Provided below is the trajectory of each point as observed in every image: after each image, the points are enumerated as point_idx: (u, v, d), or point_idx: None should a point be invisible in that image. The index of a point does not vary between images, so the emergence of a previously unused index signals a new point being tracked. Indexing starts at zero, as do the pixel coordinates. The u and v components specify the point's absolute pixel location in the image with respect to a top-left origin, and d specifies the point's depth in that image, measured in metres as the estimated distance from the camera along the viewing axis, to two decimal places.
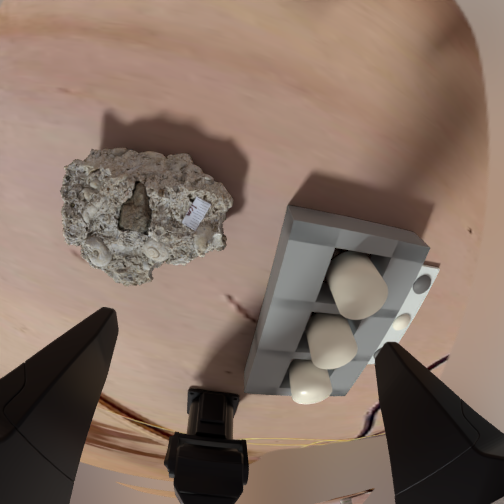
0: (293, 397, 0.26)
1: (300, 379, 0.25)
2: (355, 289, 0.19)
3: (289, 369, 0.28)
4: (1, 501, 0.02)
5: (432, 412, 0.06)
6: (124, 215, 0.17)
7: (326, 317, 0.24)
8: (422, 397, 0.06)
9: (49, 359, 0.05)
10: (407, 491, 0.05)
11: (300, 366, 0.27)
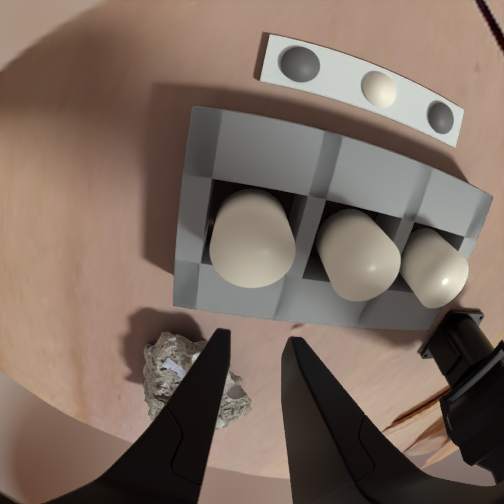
0: (440, 305, 0.16)
1: None
2: (233, 268, 0.14)
3: None
4: None
5: (323, 426, 0.06)
6: None
7: (319, 254, 0.17)
8: (311, 405, 0.06)
9: (195, 396, 0.05)
10: None
11: (404, 277, 0.17)
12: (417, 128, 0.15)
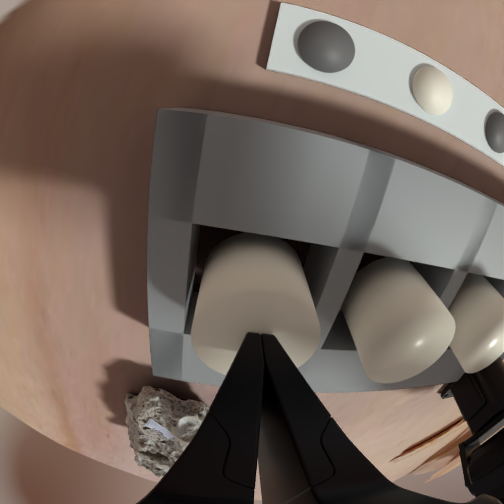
0: (482, 368, 0.11)
1: (457, 357, 0.11)
2: (228, 359, 0.09)
3: None
4: None
5: (286, 427, 0.06)
6: (164, 464, 0.17)
7: (346, 319, 0.12)
8: (275, 405, 0.06)
9: (237, 401, 0.06)
10: None
11: None
12: (473, 144, 0.10)
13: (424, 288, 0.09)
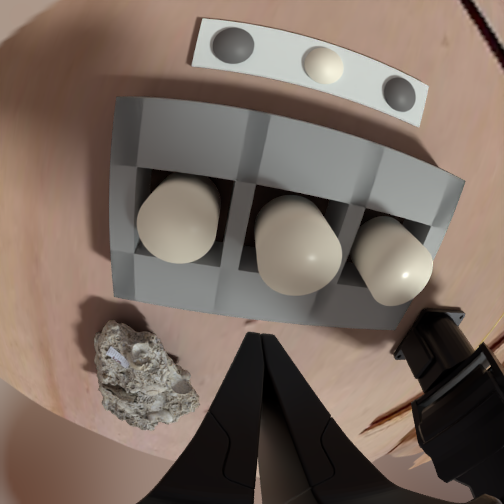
0: (400, 302, 0.15)
1: (368, 288, 0.15)
2: (160, 243, 0.14)
3: None
4: None
5: (286, 426, 0.06)
6: (123, 399, 0.21)
7: None
8: (275, 404, 0.06)
9: (237, 401, 0.06)
10: None
11: (358, 270, 0.17)
12: (371, 106, 0.14)
13: (308, 211, 0.14)
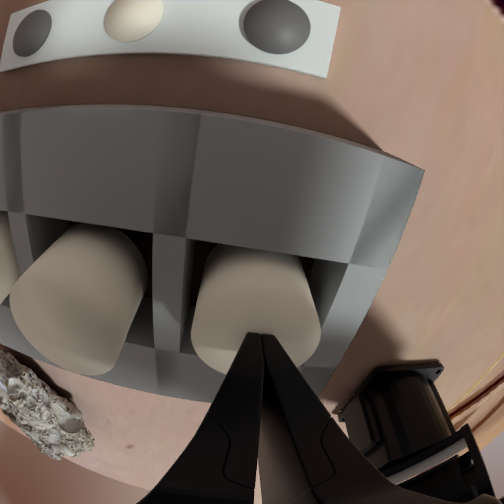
0: None
1: None
2: None
3: None
4: None
5: (286, 427, 0.06)
6: (21, 427, 0.14)
7: None
8: (275, 405, 0.06)
9: (237, 401, 0.06)
10: None
11: None
12: (219, 54, 0.08)
13: (68, 253, 0.07)
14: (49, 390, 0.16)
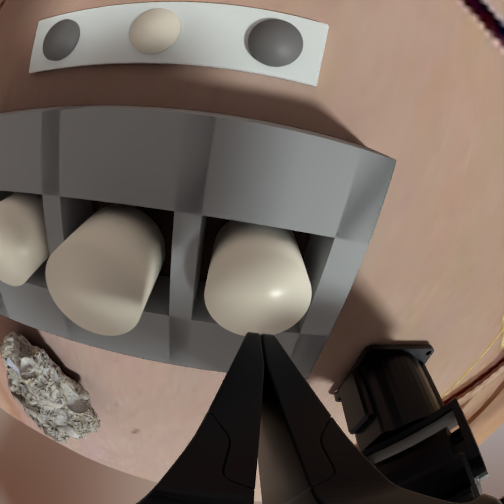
0: (267, 333, 0.12)
1: None
2: None
3: None
4: None
5: (286, 426, 0.06)
6: (29, 409, 0.16)
7: None
8: (275, 405, 0.06)
9: (237, 401, 0.06)
10: None
11: None
12: (227, 66, 0.10)
13: (102, 227, 0.09)
14: (59, 370, 0.18)
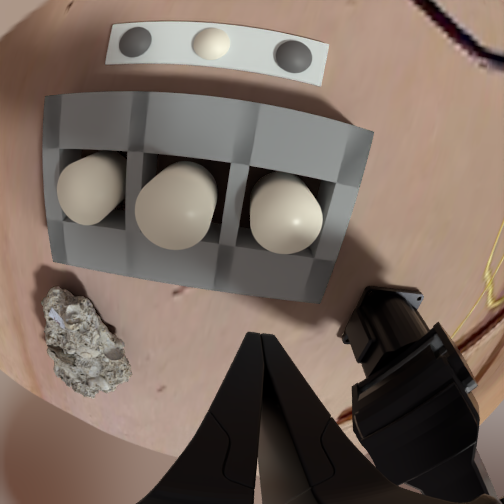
0: (292, 251, 0.17)
1: None
2: (73, 208, 0.15)
3: None
4: None
5: (286, 427, 0.06)
6: (64, 361, 0.22)
7: None
8: (275, 404, 0.06)
9: (237, 401, 0.06)
10: None
11: None
12: (262, 72, 0.15)
13: (182, 170, 0.14)
14: (100, 319, 0.23)
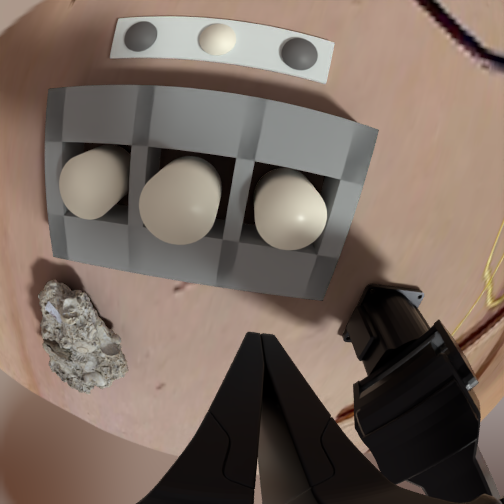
0: (296, 247, 0.17)
1: None
2: (75, 202, 0.15)
3: None
4: None
5: (286, 427, 0.06)
6: (60, 356, 0.21)
7: None
8: (275, 405, 0.06)
9: (237, 401, 0.06)
10: None
11: None
12: (268, 68, 0.15)
13: (187, 164, 0.14)
14: (97, 314, 0.23)
